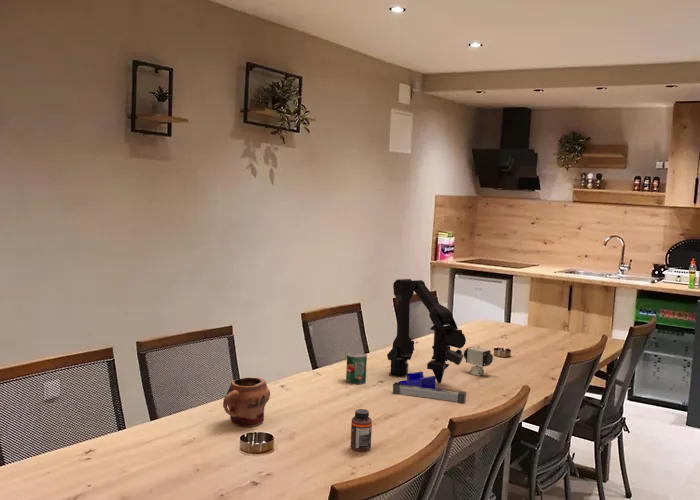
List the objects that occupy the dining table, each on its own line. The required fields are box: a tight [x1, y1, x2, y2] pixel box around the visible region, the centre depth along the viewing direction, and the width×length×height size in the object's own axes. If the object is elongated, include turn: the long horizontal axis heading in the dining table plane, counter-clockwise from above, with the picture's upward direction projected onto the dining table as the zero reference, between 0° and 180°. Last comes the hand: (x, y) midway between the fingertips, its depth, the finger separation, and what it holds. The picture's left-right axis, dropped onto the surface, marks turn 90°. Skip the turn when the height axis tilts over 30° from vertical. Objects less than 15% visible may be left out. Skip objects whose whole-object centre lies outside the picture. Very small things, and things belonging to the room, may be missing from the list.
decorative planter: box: [222, 377, 271, 428], centre depth 219 cm, size 20×12×14 cm, turn 154°
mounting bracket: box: [397, 370, 443, 390], centre depth 267 cm, size 18×7×6 cm, turn 36°
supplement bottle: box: [350, 408, 373, 453], centre depth 202 cm, size 6×6×11 cm
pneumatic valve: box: [463, 346, 494, 377], centre depth 292 cm, size 6×12×12 cm, turn 46°
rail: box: [392, 381, 467, 404], centre depth 256 cm, size 27×3×4 cm, turn 70°
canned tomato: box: [345, 351, 368, 386], centre depth 273 cm, size 8×8×11 cm
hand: (439, 383), depth 267 cm, fingers closed
